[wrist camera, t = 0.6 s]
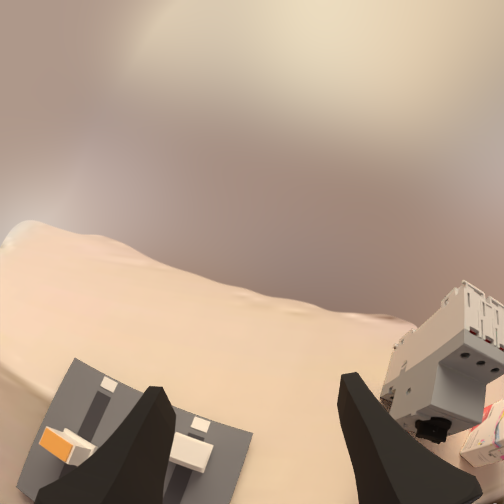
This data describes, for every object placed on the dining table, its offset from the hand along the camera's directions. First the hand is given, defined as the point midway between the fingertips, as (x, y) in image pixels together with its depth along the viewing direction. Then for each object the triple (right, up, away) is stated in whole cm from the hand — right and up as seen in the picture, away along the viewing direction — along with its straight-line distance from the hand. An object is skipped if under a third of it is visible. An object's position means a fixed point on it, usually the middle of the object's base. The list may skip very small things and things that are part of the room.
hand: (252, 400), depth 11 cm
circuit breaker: (+19, -13, +19) cm, 30 cm away
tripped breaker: (-17, -13, +9) cm, 23 cm away
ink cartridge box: (+32, -21, +15) cm, 41 cm away
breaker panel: (-12, -16, +10) cm, 22 cm away
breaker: (-6, -12, +11) cm, 18 cm away
